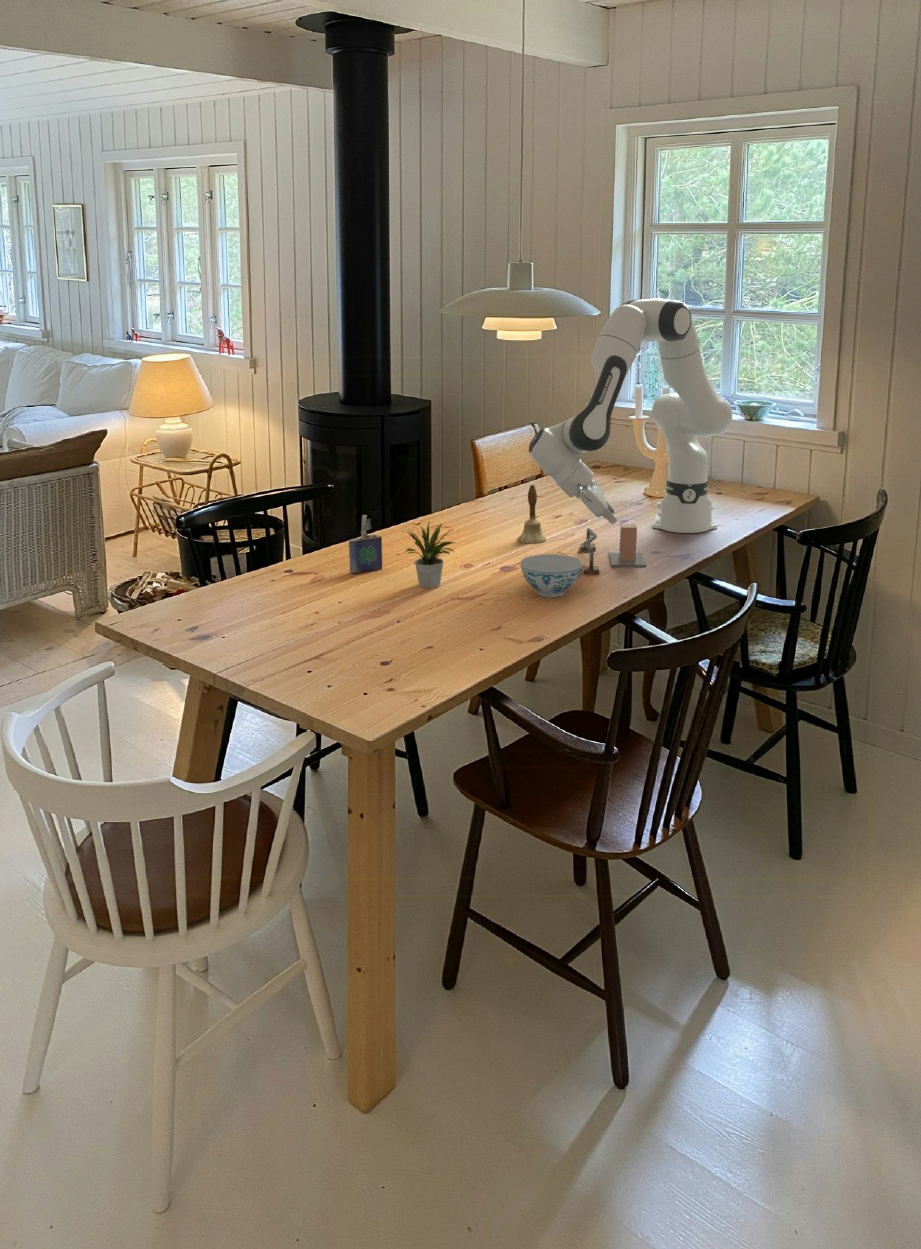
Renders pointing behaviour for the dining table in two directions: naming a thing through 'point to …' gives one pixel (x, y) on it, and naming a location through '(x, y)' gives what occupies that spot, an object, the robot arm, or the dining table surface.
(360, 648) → the dining table surface
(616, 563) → the slate tile
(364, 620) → the dining table surface
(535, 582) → the chinaware
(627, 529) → the brick block
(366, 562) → the flask
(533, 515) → the hand bell
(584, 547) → the zigzag wire
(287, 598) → the dining table surface
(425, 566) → the house plant
